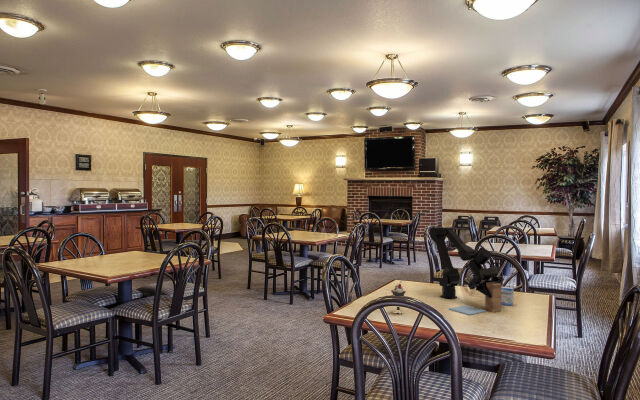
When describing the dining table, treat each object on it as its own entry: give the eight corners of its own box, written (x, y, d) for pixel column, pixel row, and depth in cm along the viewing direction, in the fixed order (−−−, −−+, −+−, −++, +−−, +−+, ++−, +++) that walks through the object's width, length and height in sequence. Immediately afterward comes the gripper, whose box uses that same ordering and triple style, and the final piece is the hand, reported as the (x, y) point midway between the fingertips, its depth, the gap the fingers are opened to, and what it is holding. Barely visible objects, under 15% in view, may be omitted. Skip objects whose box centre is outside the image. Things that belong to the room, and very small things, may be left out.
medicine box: (495, 304, 233) (496, 287, 232) (496, 302, 237) (497, 285, 236) (512, 306, 229) (512, 288, 229) (513, 304, 233) (513, 287, 233)
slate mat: (448, 309, 221) (448, 308, 221) (465, 306, 227) (465, 305, 227) (469, 315, 211) (469, 314, 211) (486, 311, 217) (486, 310, 217)
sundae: (402, 315, 209) (402, 282, 209) (388, 313, 213) (389, 281, 213) (407, 312, 215) (408, 280, 215) (394, 310, 219) (394, 278, 218)
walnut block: (485, 309, 221) (485, 282, 221) (492, 308, 223) (493, 282, 223) (493, 312, 217) (493, 284, 216) (500, 311, 219) (501, 283, 219)
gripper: (472, 261, 219) (490, 289, 209) (501, 259, 227) (519, 285, 217) (460, 275, 226) (477, 302, 216) (488, 272, 234) (505, 299, 225)
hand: (495, 297), depth 218 cm, fingers closed on walnut block, 5 cm apart
